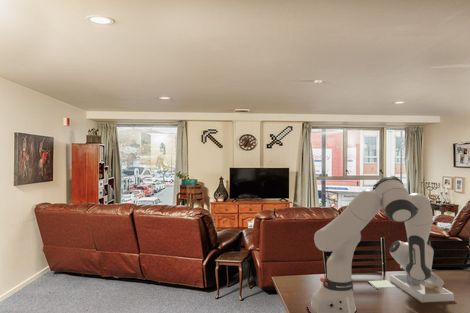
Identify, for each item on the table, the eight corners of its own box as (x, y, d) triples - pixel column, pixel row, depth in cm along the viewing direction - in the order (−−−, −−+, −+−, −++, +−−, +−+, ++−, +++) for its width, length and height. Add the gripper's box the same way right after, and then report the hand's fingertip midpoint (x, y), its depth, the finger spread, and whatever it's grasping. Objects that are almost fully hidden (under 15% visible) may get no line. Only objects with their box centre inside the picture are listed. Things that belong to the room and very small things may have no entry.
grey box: (411, 285, 175) (411, 272, 175) (407, 282, 179) (406, 270, 179) (419, 285, 175) (419, 272, 175) (415, 282, 179) (414, 269, 179)
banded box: (432, 297, 158) (431, 279, 159) (425, 294, 163) (424, 276, 163) (440, 296, 159) (439, 278, 159) (432, 293, 164) (431, 275, 164)
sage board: (376, 289, 173) (376, 287, 173) (368, 282, 183) (368, 281, 183) (396, 288, 174) (396, 286, 174) (387, 282, 184) (386, 280, 184)
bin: (421, 304, 153) (421, 294, 154) (390, 282, 182) (389, 274, 183) (454, 302, 154) (453, 293, 154) (417, 281, 183) (417, 273, 183)
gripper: (435, 268, 150) (454, 287, 151) (404, 256, 170) (421, 273, 171) (427, 279, 149) (446, 298, 150) (397, 266, 169) (414, 283, 170)
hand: (433, 285), depth 161 cm, fingers open, 8 cm apart
